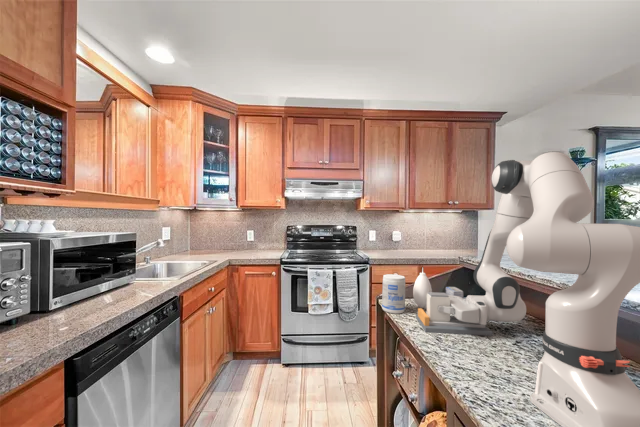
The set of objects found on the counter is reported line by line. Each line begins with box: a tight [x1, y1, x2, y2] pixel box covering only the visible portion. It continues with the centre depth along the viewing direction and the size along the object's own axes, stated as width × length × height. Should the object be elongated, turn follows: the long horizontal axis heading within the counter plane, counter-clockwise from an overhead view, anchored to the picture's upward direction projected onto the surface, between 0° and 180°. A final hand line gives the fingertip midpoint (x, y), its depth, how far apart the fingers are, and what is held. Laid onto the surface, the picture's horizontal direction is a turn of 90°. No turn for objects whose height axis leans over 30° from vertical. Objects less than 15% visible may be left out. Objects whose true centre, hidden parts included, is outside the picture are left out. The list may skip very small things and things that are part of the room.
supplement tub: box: [381, 273, 406, 314], centre depth 121 cm, size 10×10×15 cm
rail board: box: [415, 307, 493, 337], centre depth 104 cm, size 14×22×4 cm, turn 84°
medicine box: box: [445, 286, 464, 299], centre depth 125 cm, size 8×4×9 cm, turn 179°
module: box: [426, 291, 451, 322], centre depth 104 cm, size 4×7×10 cm, turn 84°
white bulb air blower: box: [412, 266, 433, 309], centre depth 125 cm, size 8×8×18 cm
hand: (435, 306), depth 104 cm, fingers closed on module, 4 cm apart
